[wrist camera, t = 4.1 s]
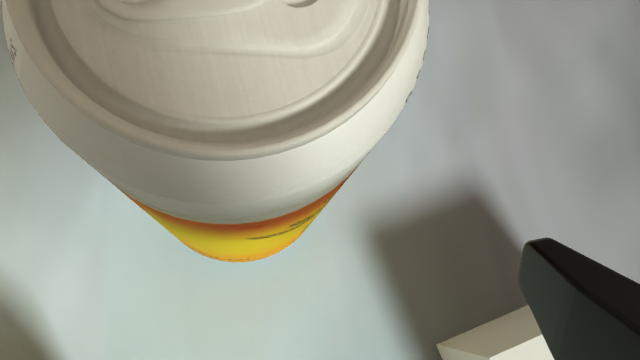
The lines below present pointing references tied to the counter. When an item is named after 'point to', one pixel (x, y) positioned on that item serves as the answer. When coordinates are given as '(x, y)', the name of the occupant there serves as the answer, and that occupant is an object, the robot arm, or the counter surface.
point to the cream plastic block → (500, 340)
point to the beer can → (220, 102)
